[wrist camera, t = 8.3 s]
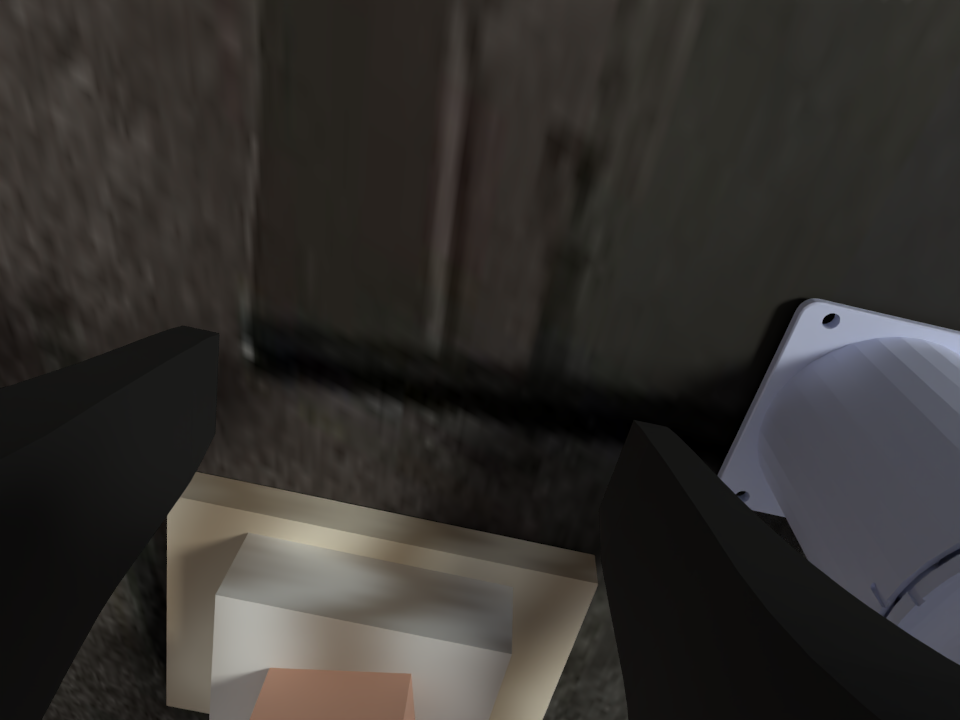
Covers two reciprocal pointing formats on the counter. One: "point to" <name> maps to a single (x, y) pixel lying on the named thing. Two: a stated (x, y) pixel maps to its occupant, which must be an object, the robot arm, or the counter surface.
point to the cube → (334, 695)
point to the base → (370, 533)
